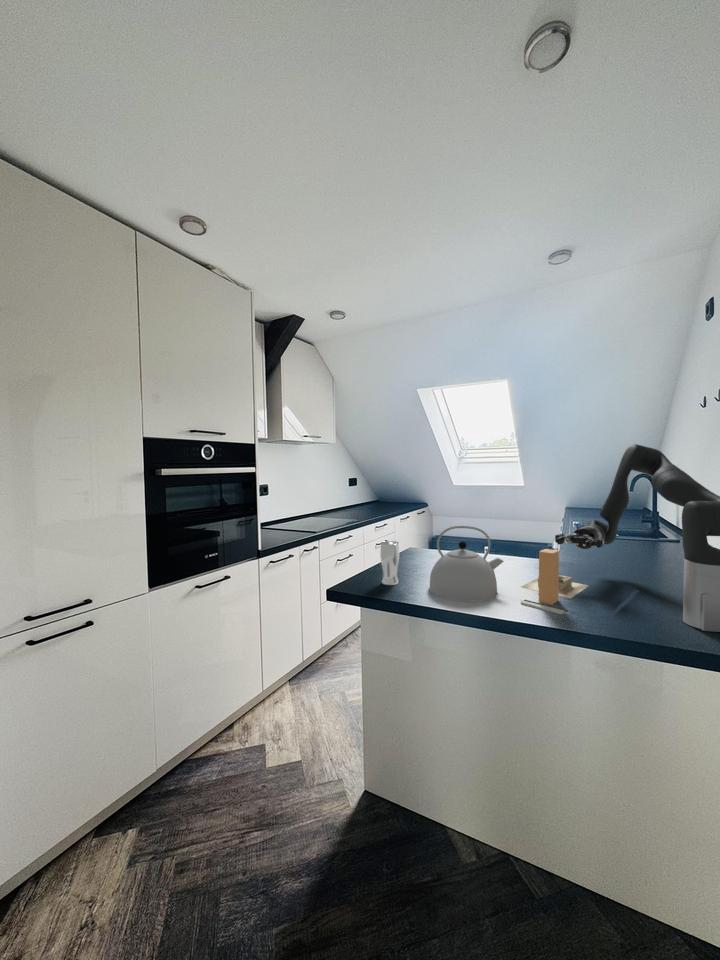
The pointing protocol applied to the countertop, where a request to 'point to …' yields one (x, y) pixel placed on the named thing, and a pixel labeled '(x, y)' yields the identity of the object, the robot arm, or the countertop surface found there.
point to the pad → (544, 607)
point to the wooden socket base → (560, 586)
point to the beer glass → (389, 562)
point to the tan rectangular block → (548, 576)
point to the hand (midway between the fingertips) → (572, 543)
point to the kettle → (464, 573)
